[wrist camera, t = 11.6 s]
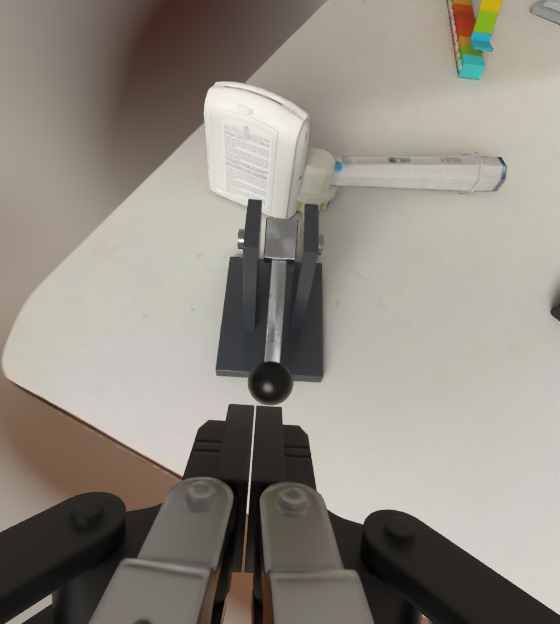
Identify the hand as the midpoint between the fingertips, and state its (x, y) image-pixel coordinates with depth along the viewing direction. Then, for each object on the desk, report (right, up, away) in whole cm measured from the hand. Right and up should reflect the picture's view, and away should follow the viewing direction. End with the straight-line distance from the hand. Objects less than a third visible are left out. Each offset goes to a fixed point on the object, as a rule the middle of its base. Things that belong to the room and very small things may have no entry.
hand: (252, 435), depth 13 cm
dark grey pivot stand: (0, +3, +28) cm, 29 cm away
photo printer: (-2, +16, +36) cm, 40 cm away
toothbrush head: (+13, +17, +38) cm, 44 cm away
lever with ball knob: (0, +3, +20) cm, 21 cm away
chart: (+30, +50, +59) cm, 83 cm away
